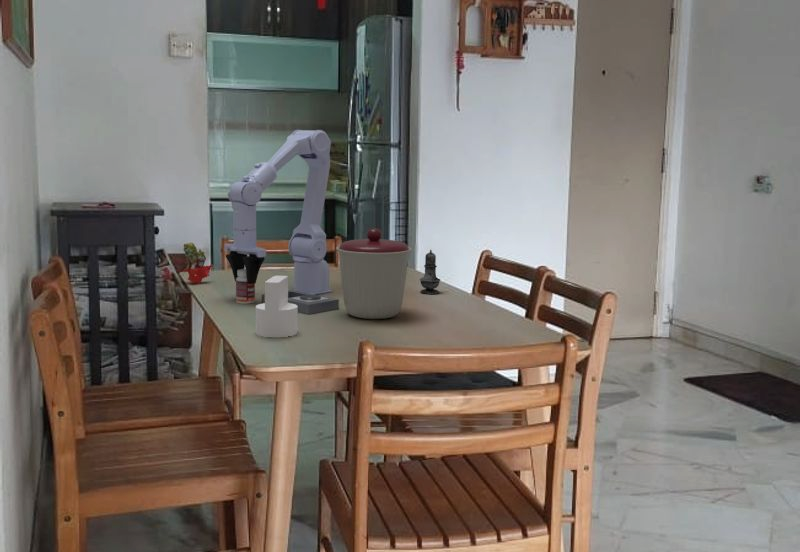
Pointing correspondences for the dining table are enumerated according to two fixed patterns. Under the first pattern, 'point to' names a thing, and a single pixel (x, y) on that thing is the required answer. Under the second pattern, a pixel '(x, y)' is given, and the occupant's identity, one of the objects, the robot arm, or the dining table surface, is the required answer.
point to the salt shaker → (430, 275)
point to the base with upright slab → (276, 310)
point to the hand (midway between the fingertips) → (245, 282)
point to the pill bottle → (244, 288)
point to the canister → (373, 275)
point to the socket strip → (310, 302)
